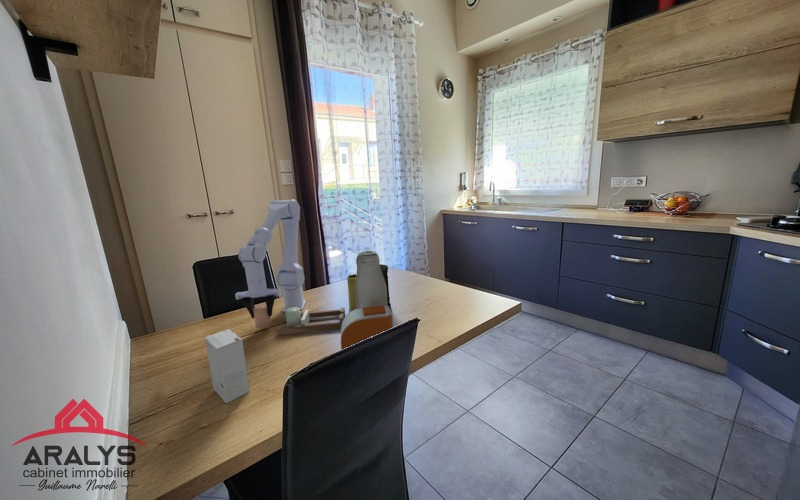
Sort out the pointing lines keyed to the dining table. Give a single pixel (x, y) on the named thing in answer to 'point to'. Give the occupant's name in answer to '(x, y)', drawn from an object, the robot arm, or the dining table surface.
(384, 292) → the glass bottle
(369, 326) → the alarm clock
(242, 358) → the skincare box
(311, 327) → the lane
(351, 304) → the vase
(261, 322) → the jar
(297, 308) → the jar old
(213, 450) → the dining table surface
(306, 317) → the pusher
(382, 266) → the container
